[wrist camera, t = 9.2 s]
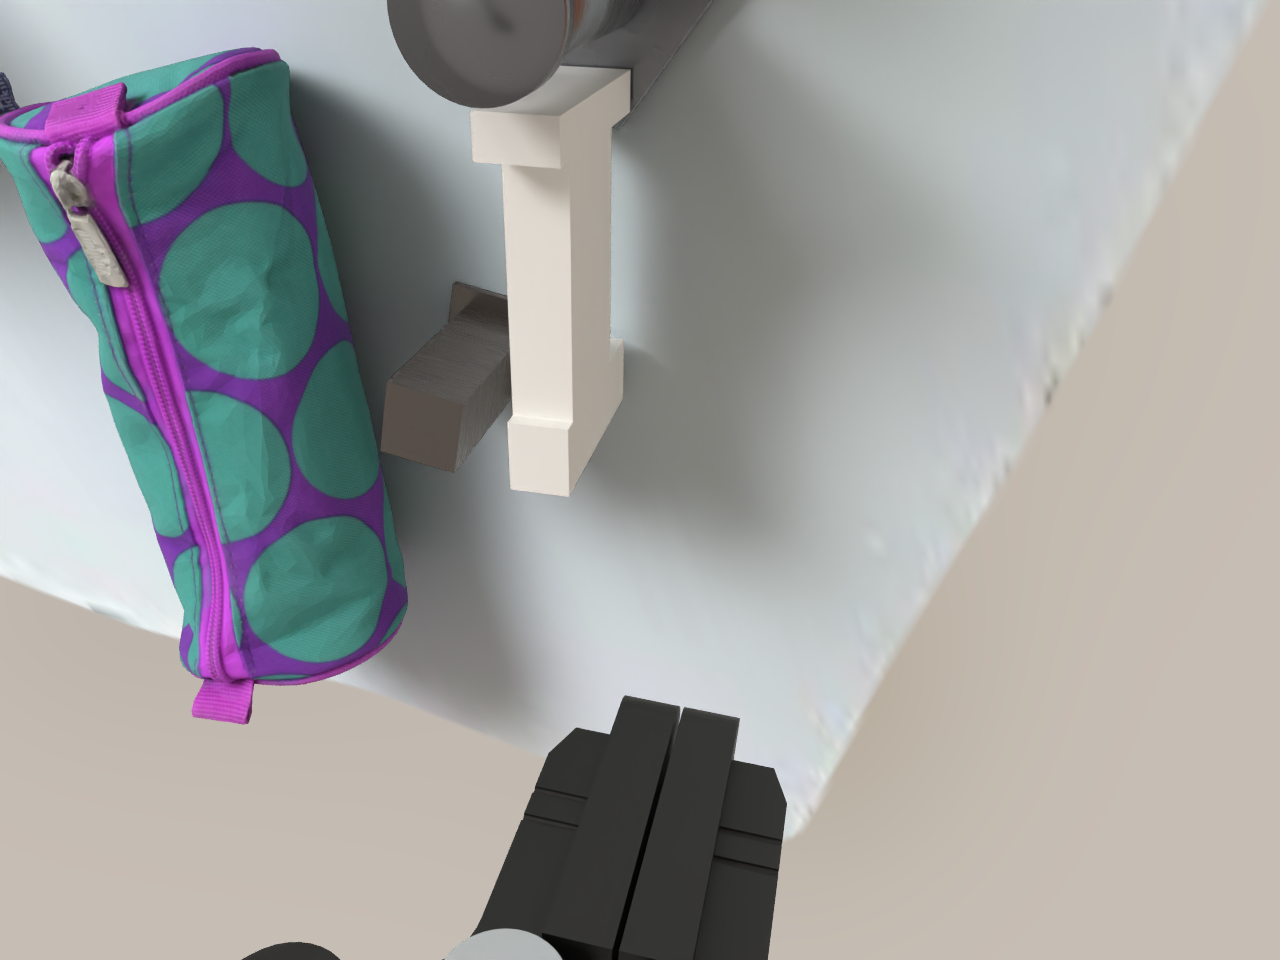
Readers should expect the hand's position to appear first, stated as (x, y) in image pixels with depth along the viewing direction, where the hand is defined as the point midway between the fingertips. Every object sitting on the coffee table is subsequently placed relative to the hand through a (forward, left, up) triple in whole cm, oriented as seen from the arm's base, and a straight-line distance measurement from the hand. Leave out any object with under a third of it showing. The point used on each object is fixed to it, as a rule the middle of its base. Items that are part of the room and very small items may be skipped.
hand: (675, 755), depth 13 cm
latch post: (-9, -6, -23) cm, 26 cm away
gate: (-7, -2, -22) cm, 23 cm away
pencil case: (-17, -9, -23) cm, 30 cm away
